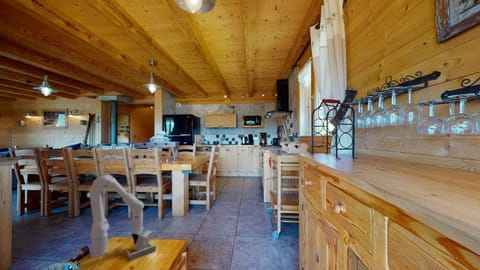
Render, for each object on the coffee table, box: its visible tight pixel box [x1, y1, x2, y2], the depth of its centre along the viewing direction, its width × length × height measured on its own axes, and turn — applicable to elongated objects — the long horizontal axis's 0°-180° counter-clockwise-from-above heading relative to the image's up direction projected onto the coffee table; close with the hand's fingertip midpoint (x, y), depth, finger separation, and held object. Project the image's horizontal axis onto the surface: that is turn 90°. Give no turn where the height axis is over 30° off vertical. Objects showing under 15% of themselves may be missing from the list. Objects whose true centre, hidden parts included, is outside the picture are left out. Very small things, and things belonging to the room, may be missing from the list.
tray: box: [125, 242, 157, 262], centre depth 106 cm, size 9×13×3 cm
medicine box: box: [133, 229, 153, 252], centre depth 111 cm, size 8×4×9 cm, turn 178°
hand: (136, 245), depth 112 cm, fingers closed
